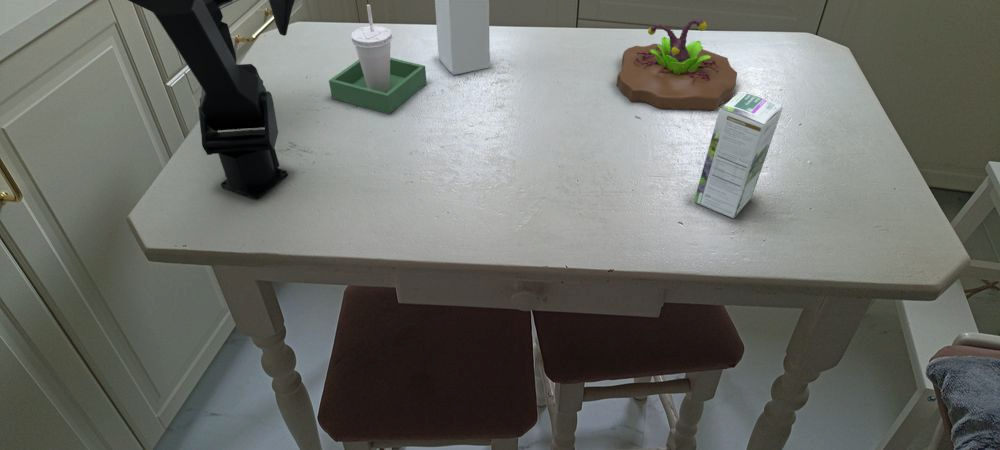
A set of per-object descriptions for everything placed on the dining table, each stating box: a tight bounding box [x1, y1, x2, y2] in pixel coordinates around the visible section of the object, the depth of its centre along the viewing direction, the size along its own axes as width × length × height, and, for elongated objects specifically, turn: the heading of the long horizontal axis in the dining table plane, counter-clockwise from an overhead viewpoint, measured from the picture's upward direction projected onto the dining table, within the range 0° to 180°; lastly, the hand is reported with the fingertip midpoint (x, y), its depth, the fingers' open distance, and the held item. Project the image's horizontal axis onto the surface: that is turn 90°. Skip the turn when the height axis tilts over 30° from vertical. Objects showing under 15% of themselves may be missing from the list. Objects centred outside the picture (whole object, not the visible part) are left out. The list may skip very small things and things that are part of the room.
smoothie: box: [351, 4, 393, 93], centre depth 103 cm, size 6×6×14 cm
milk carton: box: [434, 0, 491, 76], centre depth 109 cm, size 7×7×19 cm
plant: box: [616, 18, 738, 111], centre depth 107 cm, size 20×20×11 cm
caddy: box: [328, 57, 427, 115], centre depth 107 cm, size 11×11×3 cm
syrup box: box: [693, 91, 784, 219], centre depth 81 cm, size 6×6×14 cm
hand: (259, 48), depth 93 cm, fingers open, 9 cm apart
